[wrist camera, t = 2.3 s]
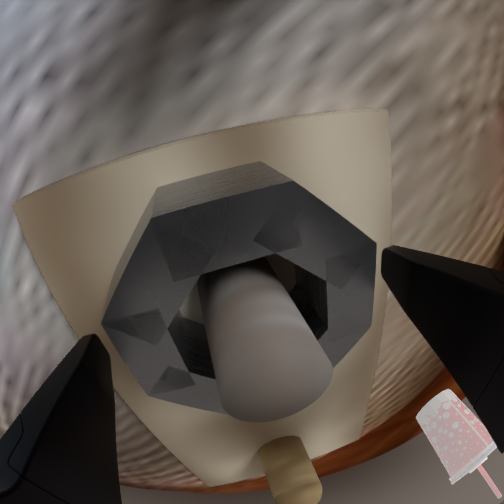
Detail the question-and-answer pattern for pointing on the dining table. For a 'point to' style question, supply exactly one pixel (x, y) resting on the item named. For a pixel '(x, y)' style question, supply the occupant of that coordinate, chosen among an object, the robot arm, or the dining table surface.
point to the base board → (113, 214)
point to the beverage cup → (457, 436)
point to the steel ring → (224, 255)
